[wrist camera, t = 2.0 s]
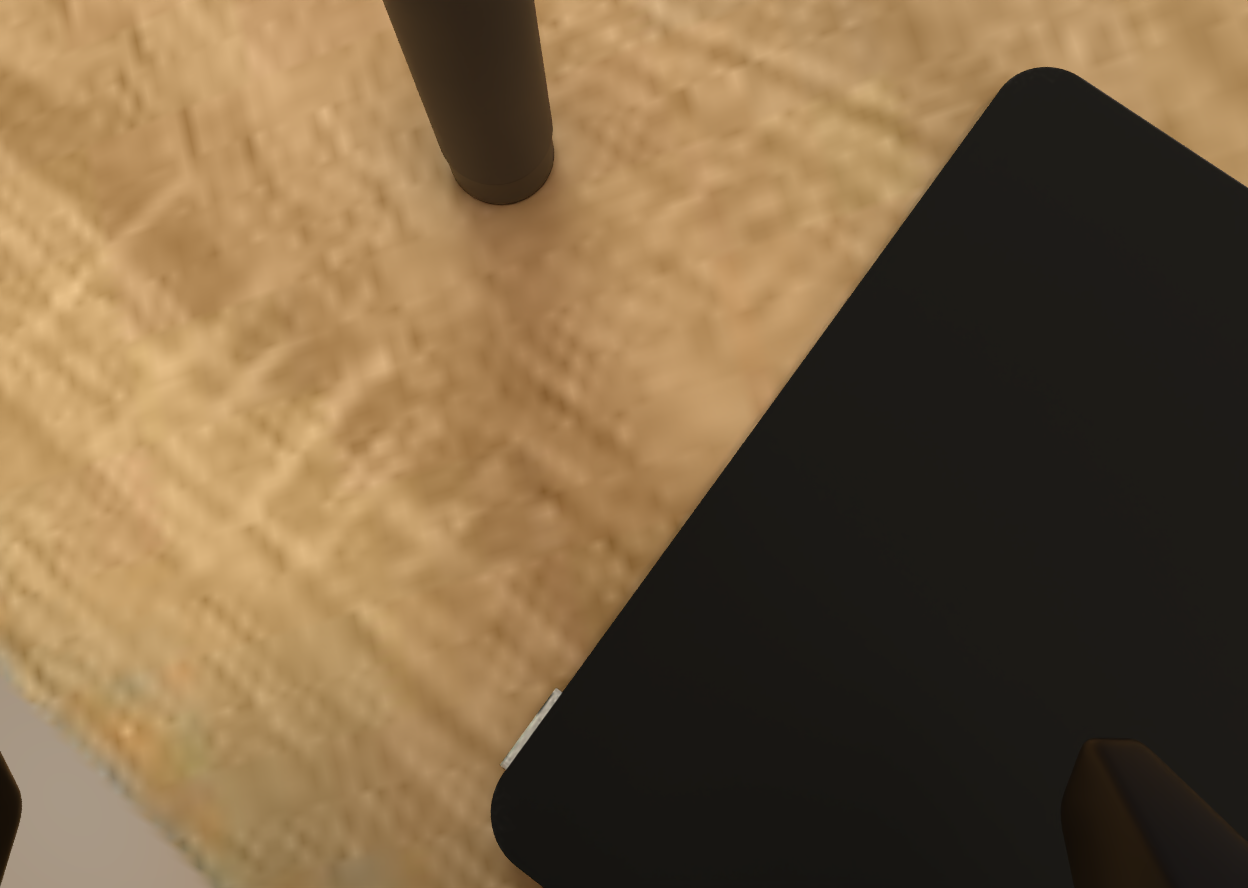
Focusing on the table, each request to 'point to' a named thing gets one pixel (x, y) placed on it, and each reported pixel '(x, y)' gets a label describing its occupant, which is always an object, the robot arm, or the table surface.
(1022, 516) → the tablet
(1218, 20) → the table surface
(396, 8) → the teal capped marker
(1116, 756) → the robot arm
